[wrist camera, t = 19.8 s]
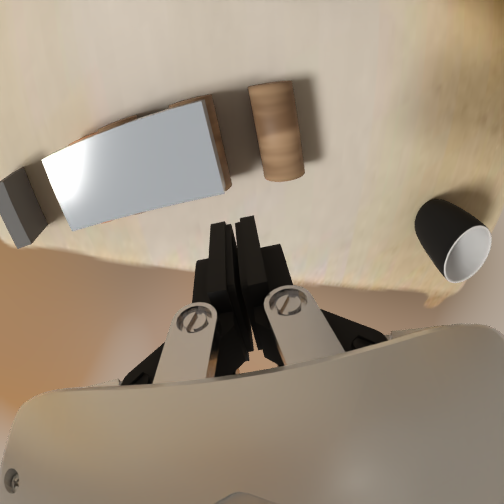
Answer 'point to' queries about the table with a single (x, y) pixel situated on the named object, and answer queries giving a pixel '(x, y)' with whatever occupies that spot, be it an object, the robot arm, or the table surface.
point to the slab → (137, 167)
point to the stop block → (20, 209)
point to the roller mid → (215, 131)
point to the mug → (452, 239)
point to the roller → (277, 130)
